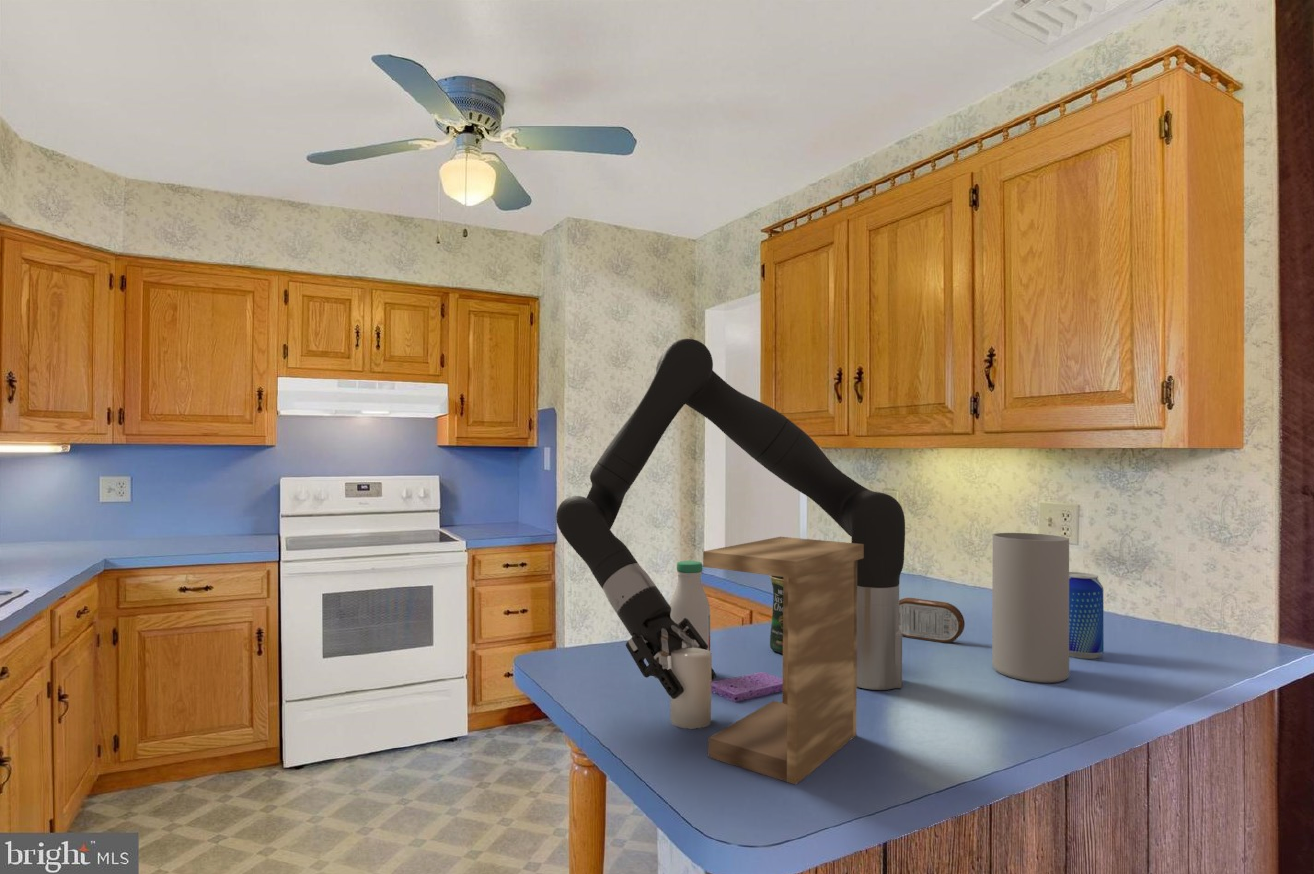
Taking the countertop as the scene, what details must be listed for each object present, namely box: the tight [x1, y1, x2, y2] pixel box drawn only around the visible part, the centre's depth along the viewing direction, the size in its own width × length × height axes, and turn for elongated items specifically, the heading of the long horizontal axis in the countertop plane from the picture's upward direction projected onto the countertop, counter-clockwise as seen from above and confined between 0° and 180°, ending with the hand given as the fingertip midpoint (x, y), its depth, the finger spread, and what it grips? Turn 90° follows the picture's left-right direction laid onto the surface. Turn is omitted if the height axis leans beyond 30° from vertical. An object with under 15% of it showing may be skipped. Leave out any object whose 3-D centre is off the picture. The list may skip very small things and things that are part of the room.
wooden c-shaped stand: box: [702, 536, 864, 785], centre depth 98 cm, size 13×22×27 cm, turn 143°
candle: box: [670, 648, 713, 730], centre depth 107 cm, size 6×6×10 cm
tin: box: [899, 597, 965, 644], centre depth 155 cm, size 15×3×8 cm, turn 58°
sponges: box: [711, 671, 783, 703], centre depth 121 cm, size 7×13×2 cm, turn 124°
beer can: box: [1069, 571, 1105, 660], centre depth 145 cm, size 8×8×16 cm
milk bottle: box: [667, 560, 711, 670], centre depth 130 cm, size 8×8×20 cm
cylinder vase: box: [991, 532, 1070, 684], centre depth 132 cm, size 12×12×25 cm
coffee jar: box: [769, 575, 783, 655], centre depth 144 cm, size 10×8×19 cm
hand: (696, 687), depth 106 cm, fingers open, 8 cm apart
